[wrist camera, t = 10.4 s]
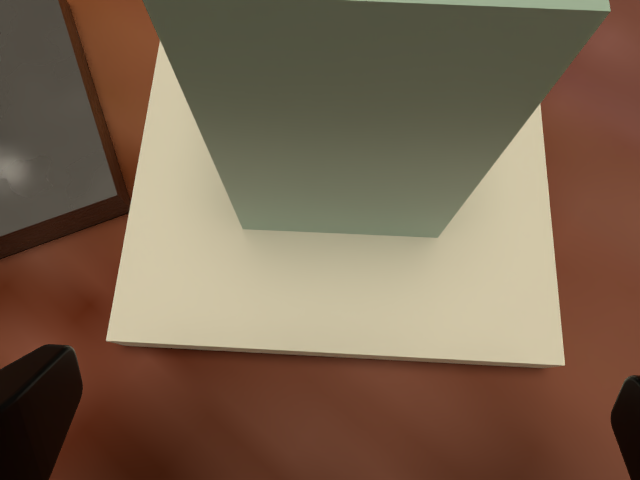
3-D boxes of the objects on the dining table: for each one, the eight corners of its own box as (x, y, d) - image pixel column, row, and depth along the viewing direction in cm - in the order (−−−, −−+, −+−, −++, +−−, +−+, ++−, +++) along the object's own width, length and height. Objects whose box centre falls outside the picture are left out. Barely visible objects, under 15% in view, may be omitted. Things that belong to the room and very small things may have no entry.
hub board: (543, 368, 16) (635, 356, 12) (124, 345, 17) (46, 324, 12) (515, 22, 21) (574, -90, 16) (181, 7, 21) (141, -109, 16)
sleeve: (437, 237, 16) (610, 11, 7) (243, 229, 16) (139, -9, 7) (432, 72, 18) (561, -288, 9) (258, 64, 18) (195, -301, 9)
